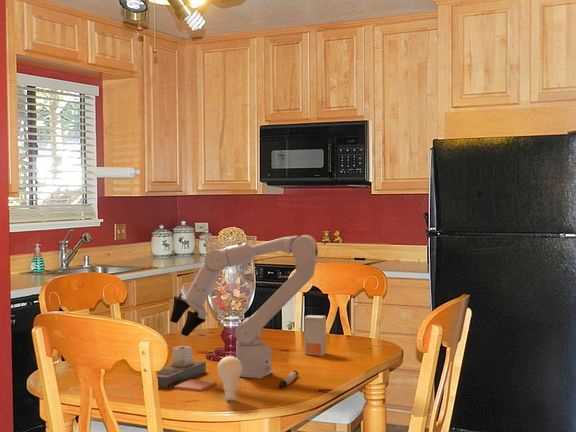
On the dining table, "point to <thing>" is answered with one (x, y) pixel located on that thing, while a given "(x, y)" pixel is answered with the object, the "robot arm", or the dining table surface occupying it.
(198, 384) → the mat
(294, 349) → the dining table surface
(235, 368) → the lightbulb
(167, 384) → the grey slotted tray
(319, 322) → the skincare box
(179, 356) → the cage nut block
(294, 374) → the marker
